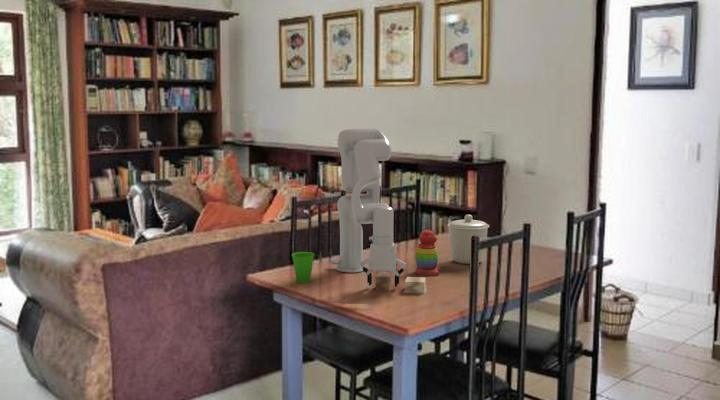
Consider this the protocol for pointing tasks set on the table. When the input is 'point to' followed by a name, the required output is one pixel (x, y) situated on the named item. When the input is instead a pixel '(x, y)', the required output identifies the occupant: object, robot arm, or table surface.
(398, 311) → the table surface
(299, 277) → the cup
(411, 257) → the table surface
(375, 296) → the table surface
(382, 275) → the walnut cube
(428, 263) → the stacking bear
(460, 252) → the canister
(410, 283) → the oak base block
